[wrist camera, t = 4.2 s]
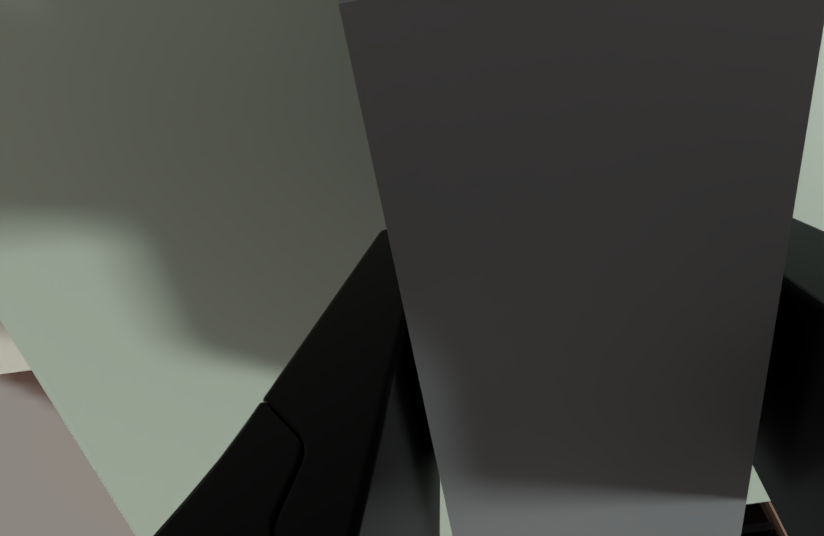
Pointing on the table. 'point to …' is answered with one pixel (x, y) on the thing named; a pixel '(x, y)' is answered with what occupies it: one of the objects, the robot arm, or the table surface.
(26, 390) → the table surface
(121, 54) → the lid
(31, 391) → the table surface
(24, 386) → the table surface
